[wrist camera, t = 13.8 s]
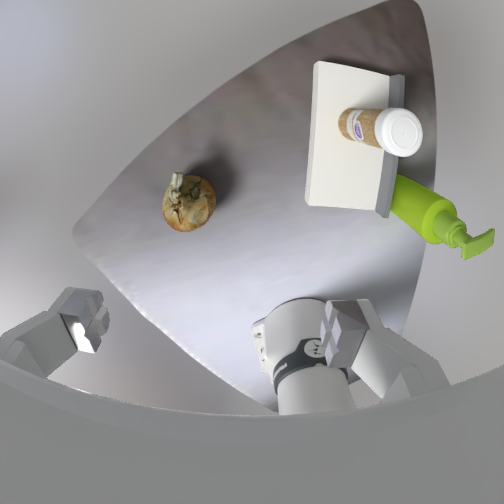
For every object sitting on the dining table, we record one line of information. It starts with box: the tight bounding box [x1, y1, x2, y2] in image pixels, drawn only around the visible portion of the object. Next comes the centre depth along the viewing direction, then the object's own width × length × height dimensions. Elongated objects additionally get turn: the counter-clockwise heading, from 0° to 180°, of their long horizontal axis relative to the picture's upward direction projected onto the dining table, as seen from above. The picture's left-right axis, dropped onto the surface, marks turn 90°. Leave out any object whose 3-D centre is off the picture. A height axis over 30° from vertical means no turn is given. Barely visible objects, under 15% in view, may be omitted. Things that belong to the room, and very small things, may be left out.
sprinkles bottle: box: [338, 108, 423, 157], centre depth 25 cm, size 5×5×13 cm
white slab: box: [305, 61, 405, 218], centre depth 32 cm, size 20×11×6 cm, turn 178°
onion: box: [162, 172, 216, 232], centre depth 35 cm, size 8×8×8 cm
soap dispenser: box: [390, 173, 495, 260], centre depth 29 cm, size 6×7×20 cm
